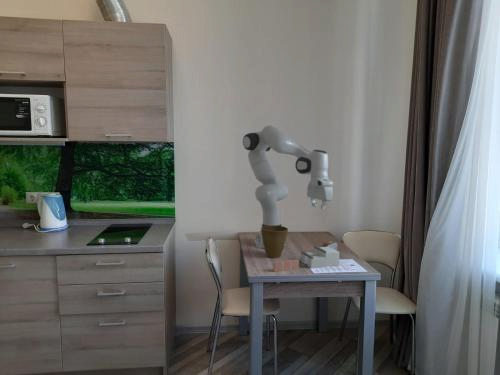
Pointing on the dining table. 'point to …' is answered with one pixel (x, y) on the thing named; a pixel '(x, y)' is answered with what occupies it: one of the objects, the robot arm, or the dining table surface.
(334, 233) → the dining table surface
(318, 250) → the dispenser
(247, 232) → the dining table surface
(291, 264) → the brown block
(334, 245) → the tin
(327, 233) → the dining table surface
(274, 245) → the plant pot
